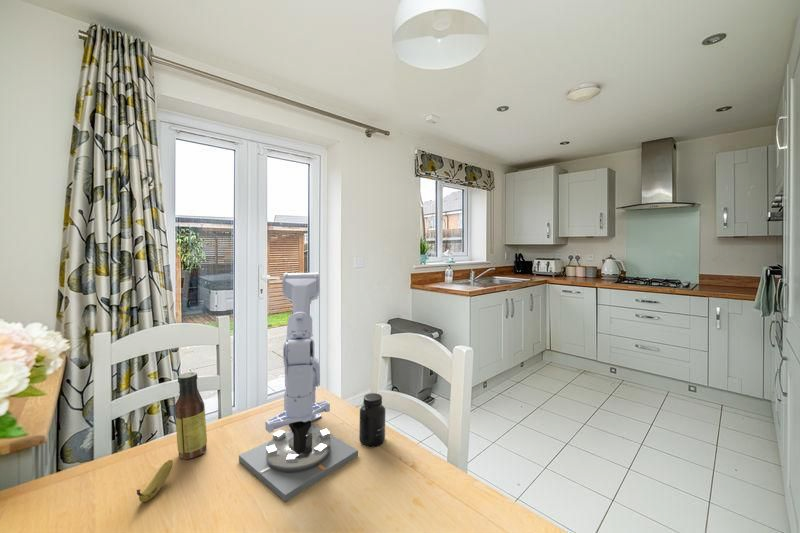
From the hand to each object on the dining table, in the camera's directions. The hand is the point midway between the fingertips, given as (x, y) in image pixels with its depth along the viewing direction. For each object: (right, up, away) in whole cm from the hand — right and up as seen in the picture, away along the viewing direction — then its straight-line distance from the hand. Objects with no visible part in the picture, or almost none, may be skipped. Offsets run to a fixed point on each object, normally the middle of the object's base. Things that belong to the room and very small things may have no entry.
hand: (299, 451), depth 78 cm
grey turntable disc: (-2, -3, +6) cm, 7 cm away
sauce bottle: (-29, -5, +8) cm, 30 cm away
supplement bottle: (+15, -5, +14) cm, 21 cm away
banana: (-28, -6, -5) cm, 30 cm away
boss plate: (-2, -5, +6) cm, 8 cm away
